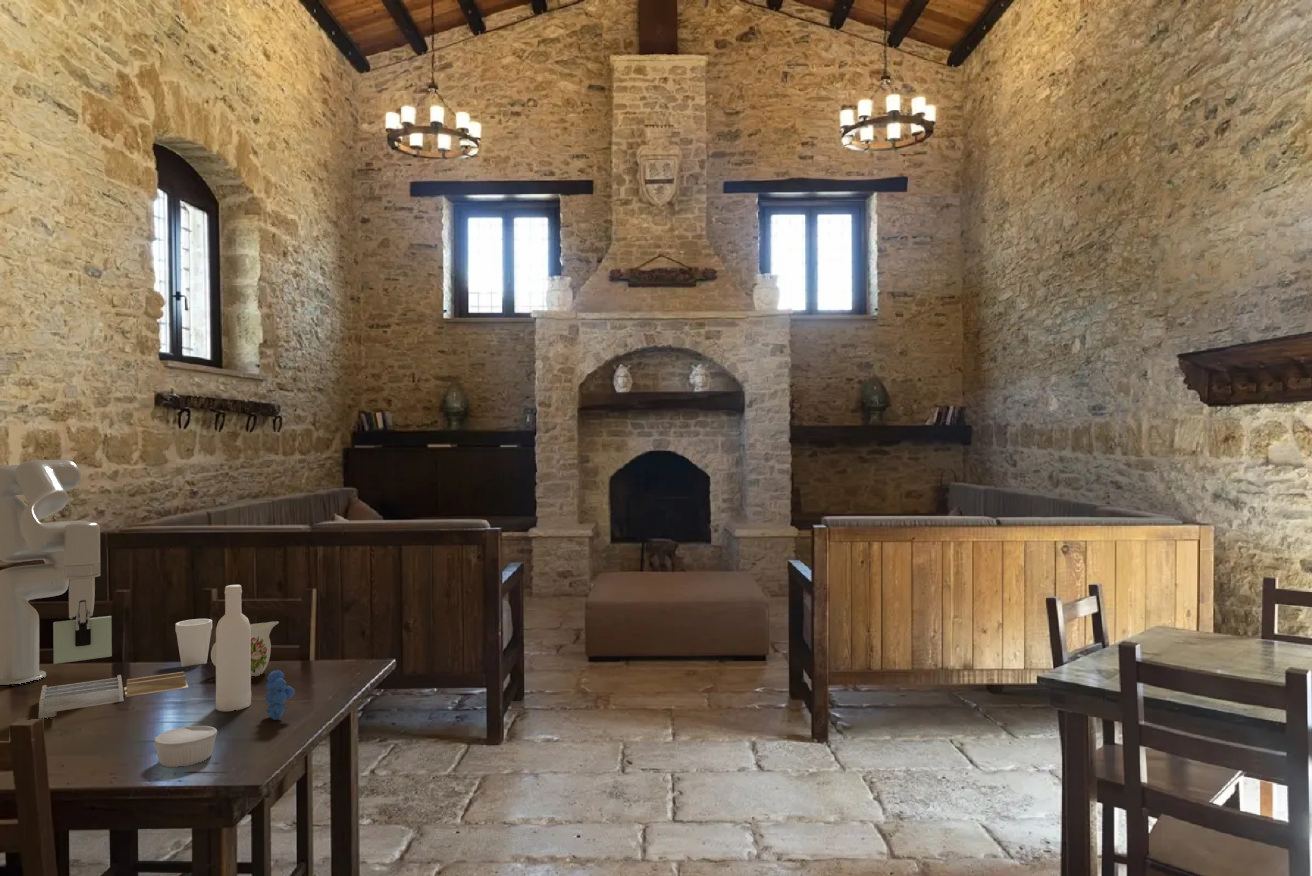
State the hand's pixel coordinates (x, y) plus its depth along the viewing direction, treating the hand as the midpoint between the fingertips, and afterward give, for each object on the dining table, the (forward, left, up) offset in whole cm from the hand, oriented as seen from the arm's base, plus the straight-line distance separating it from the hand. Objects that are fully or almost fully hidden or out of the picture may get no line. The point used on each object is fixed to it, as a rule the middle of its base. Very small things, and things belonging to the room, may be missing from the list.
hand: (83, 644), depth 208 cm
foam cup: (-25, +27, -15) cm, 40 cm away
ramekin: (+58, +18, -16) cm, 62 cm away
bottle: (+25, +31, -15) cm, 42 cm away
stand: (0, +16, -15) cm, 22 cm away
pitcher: (-5, +38, -15) cm, 41 cm away
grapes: (+42, +39, -15) cm, 59 cm away
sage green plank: (0, 0, -4) cm, 4 cm away
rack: (0, 0, -15) cm, 15 cm away
